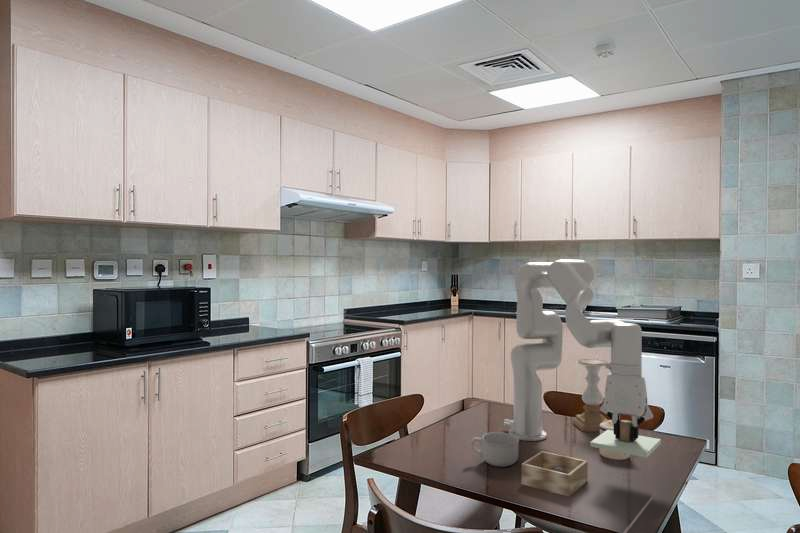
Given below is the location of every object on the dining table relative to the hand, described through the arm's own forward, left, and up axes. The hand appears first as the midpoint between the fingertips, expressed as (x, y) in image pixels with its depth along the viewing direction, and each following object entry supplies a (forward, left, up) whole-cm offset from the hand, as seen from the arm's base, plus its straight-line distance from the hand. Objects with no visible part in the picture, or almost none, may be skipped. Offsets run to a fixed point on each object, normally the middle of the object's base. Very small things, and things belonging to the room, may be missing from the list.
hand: (625, 438), depth 148 cm
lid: (0, 0, -2) cm, 2 cm away
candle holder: (-25, +48, -13) cm, 56 cm away
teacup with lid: (-10, +24, -13) cm, 29 cm away
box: (-15, -11, -13) cm, 23 cm away
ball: (-15, -8, -12) cm, 21 cm away
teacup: (-35, -7, -13) cm, 38 cm away
